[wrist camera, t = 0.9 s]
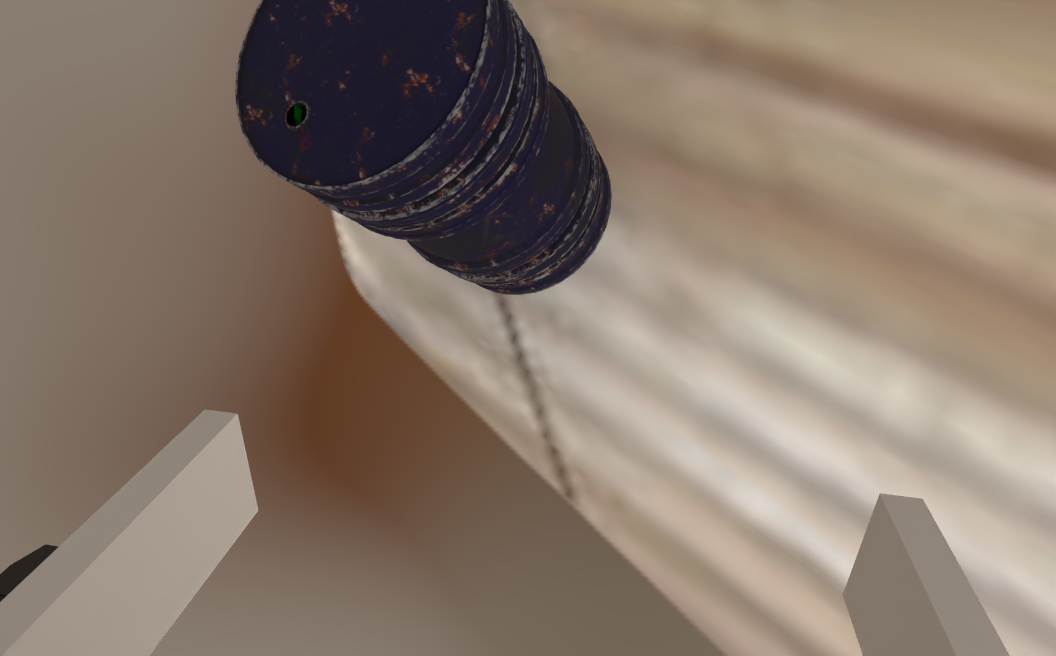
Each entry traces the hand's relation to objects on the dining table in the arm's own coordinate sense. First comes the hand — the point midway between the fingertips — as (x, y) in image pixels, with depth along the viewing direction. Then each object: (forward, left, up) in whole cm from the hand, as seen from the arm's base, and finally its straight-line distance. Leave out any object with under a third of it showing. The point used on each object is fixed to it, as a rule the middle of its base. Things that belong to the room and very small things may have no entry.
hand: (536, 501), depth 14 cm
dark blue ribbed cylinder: (+2, -15, -17) cm, 23 cm away
